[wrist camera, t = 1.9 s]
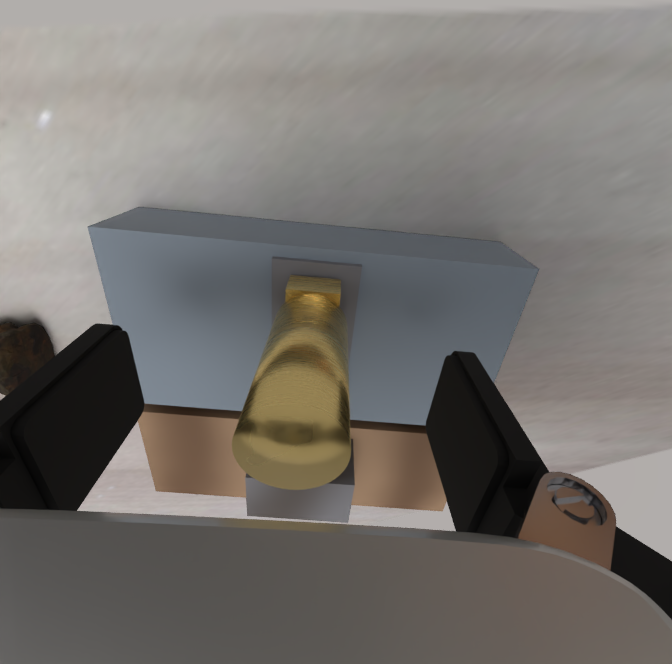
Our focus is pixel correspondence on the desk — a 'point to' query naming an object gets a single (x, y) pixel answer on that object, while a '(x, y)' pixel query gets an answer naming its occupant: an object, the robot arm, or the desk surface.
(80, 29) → the desk surface
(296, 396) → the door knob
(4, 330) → the hand tool
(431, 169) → the desk surface
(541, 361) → the desk surface
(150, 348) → the door leaf
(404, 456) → the door jamb
